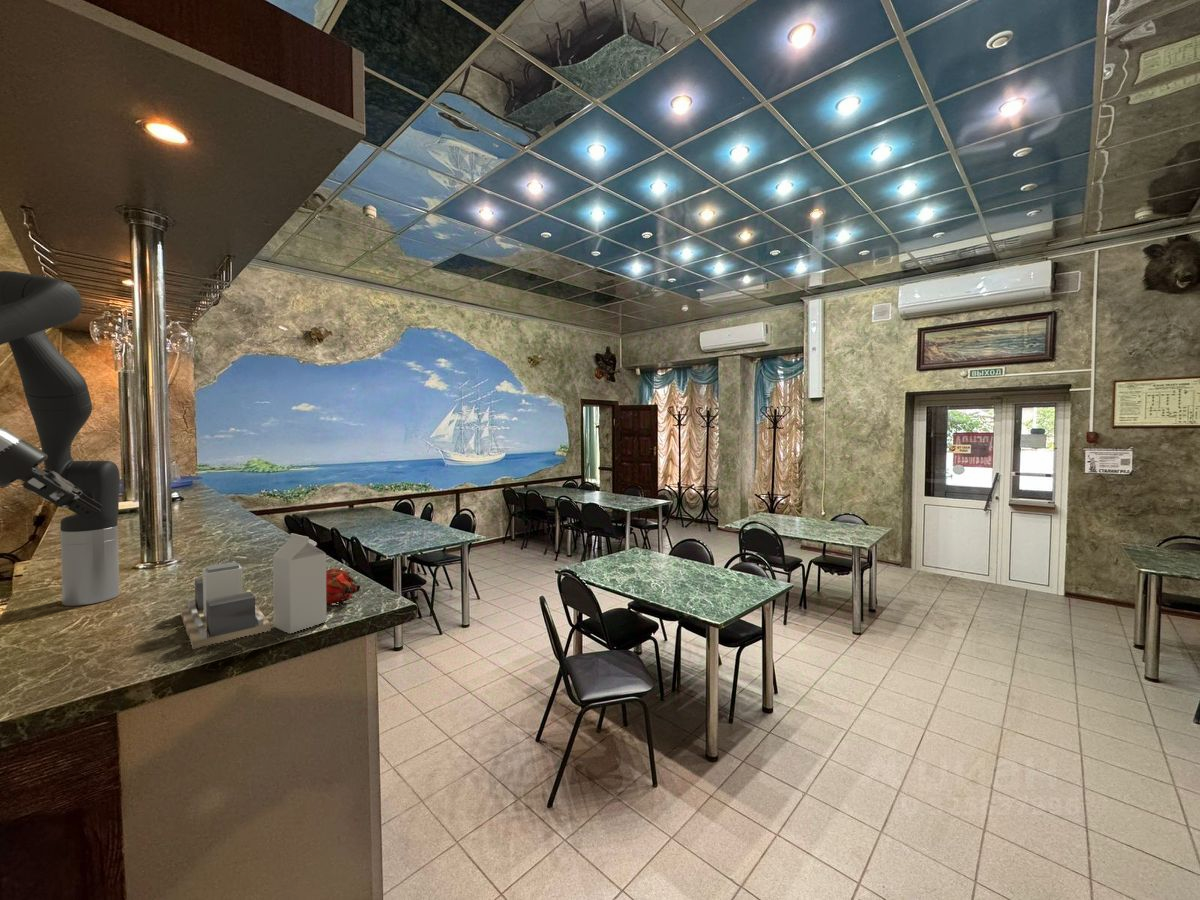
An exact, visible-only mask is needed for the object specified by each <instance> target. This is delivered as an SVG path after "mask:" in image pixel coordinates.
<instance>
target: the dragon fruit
mask: <svg viewBox="0 0 1200 900" xmlns="http://www.w3.org/2000/svg"><path fill="white" fill-rule="evenodd" d="M356 584H358V582H356V581H355V578H354V577H353V576H352V575H350V572H349V571H348V570H343V569H340V568H338V567H334V568H328V569H326V604H329V605H331V604H332V603H336V604H340V603H337V602H339V601H340V602H341V601H345V599H346V600H347V601H348V600H350V599H351V598H352V597H353V594H355V593H358V592H359V591H360V589H361V585H360V584H359V585H356Z"/></svg>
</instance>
